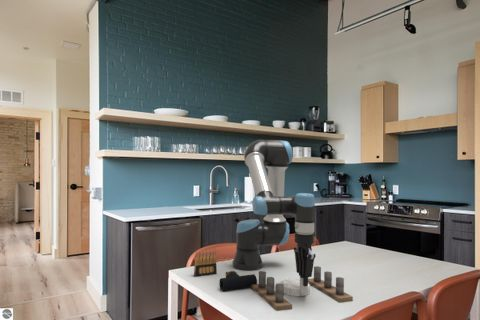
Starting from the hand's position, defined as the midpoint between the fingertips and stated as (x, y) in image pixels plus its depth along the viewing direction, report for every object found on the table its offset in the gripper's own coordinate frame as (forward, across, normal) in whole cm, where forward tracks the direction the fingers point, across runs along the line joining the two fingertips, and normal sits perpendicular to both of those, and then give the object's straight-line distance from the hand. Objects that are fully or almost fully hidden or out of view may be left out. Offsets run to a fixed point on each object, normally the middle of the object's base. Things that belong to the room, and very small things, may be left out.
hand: (303, 293), depth 135 cm
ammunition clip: (+2, -38, -30) cm, 48 cm away
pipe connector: (+2, -20, -22) cm, 29 cm away
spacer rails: (+1, -3, 0) cm, 3 cm away
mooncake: (+2, -7, 0) cm, 7 cm away
